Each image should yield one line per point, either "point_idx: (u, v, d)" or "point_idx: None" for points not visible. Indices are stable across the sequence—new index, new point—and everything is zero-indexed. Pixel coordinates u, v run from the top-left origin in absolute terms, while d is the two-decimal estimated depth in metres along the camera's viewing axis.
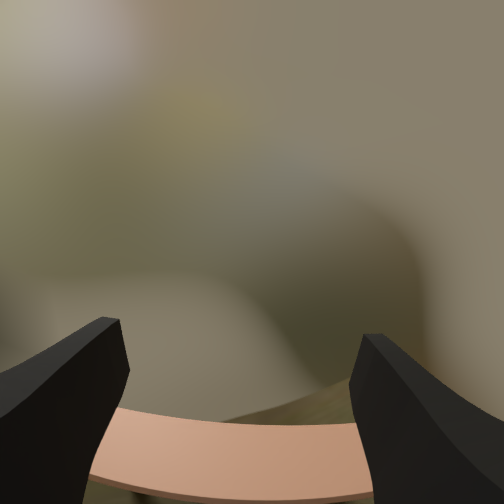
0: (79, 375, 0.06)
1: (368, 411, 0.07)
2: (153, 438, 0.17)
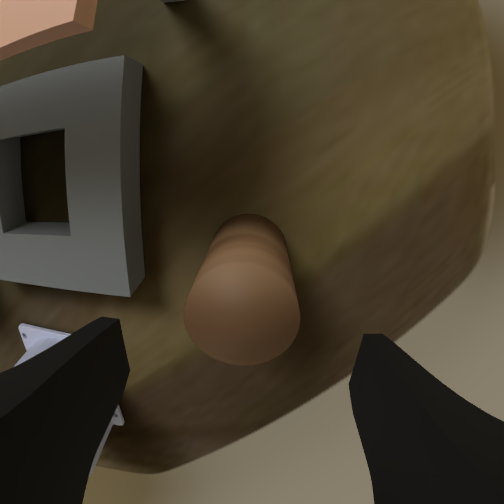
0: (79, 375, 0.06)
1: (368, 411, 0.07)
2: None
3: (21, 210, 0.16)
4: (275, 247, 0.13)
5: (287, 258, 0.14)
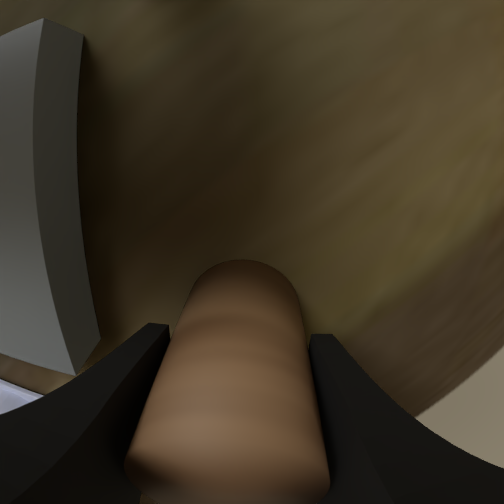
0: (137, 387, 0.06)
1: None
2: None
3: None
4: (287, 341, 0.07)
5: (306, 351, 0.08)
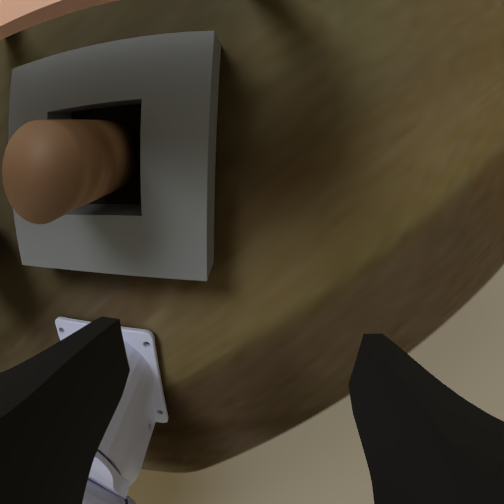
0: (79, 375, 0.06)
1: (368, 411, 0.07)
2: None
3: None
4: (95, 124, 0.12)
5: (110, 136, 0.12)
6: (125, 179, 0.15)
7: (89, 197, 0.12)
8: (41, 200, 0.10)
